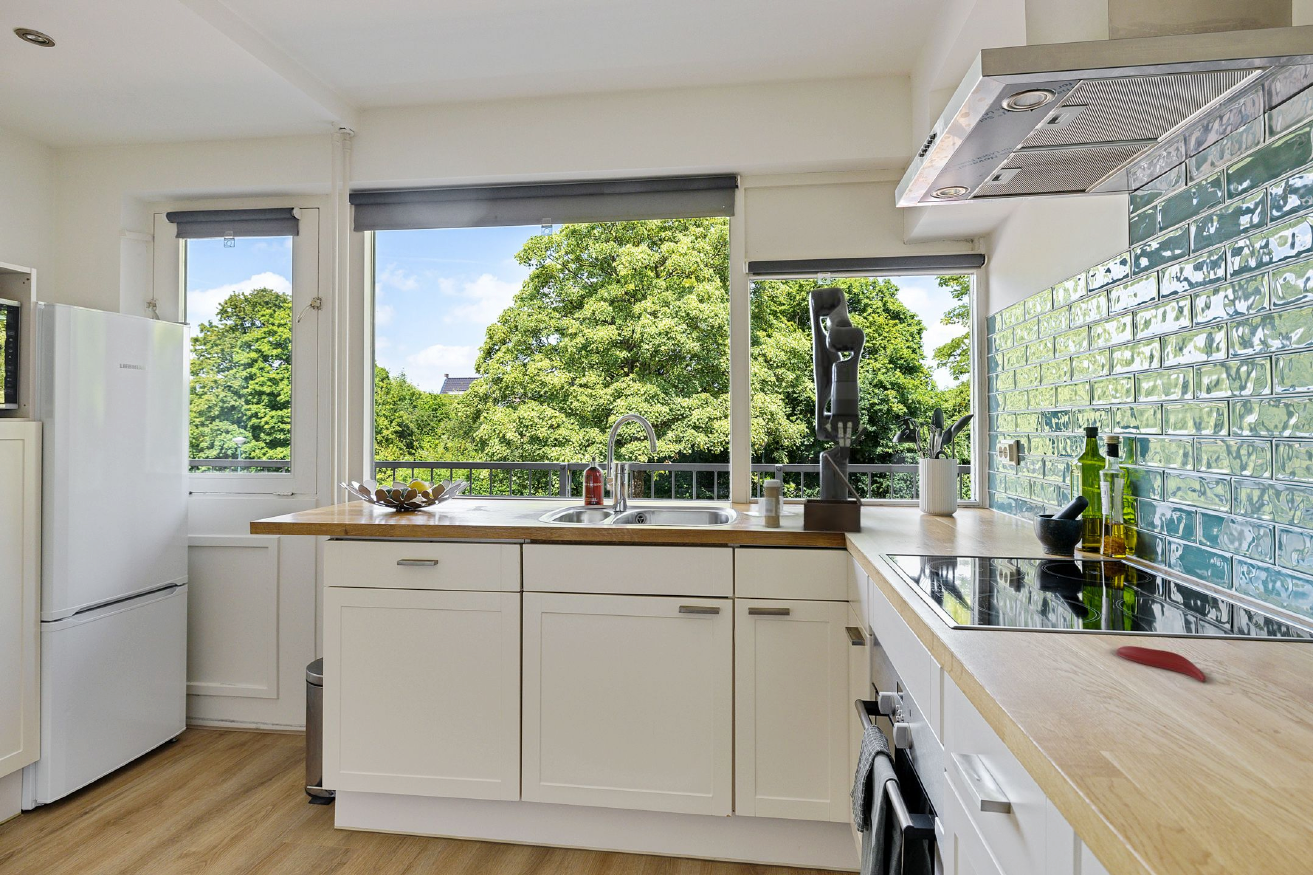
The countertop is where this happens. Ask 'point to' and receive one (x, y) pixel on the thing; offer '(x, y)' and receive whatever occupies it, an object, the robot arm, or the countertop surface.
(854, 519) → the chest
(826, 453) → the chest lid
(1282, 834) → the countertop surface
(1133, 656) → the cayenne pepper
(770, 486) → the sprinkles bottle
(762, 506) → the napkin holder
